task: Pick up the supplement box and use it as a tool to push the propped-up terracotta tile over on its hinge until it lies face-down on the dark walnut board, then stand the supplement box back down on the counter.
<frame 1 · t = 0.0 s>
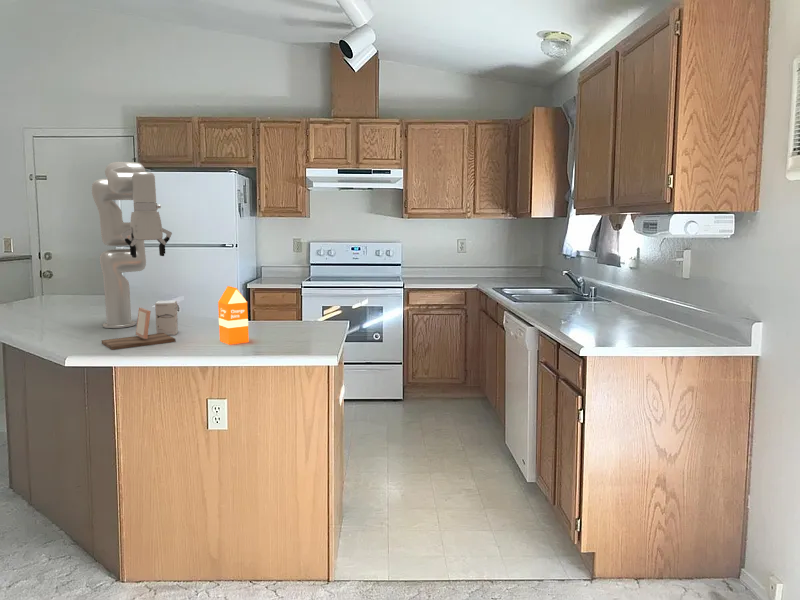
hand: (148, 256, 238), 31 cm above the counter, fingers open, 9 cm apart
supplement box: (167, 334, 261), on the counter
tile: (142, 323, 244), point 7 cm above the counter, hinge at 80.0°
board: (138, 342, 243), on the counter
orange juice: (234, 342, 244), on the counter
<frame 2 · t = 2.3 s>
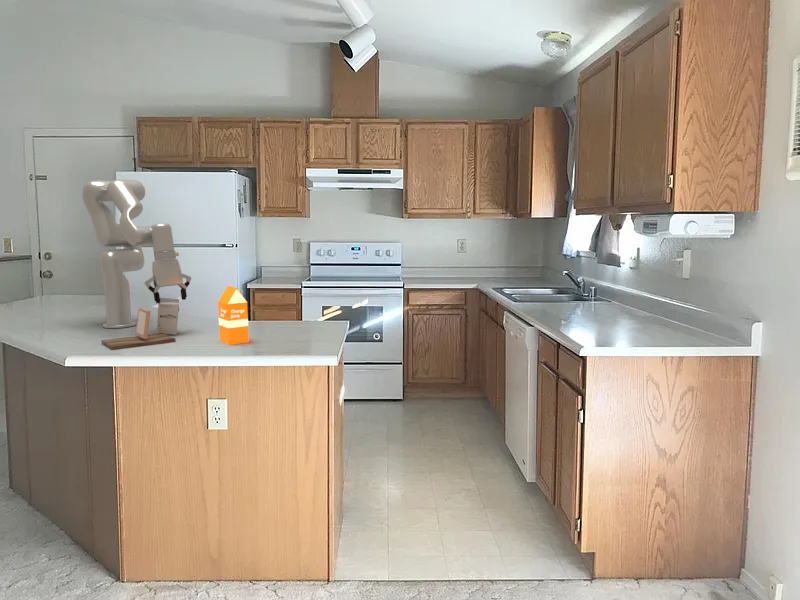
hand: (171, 301, 256), 13 cm above the counter, fingers open, 9 cm apart
supplement box: (166, 331, 260), point 1 cm above the counter, touching gripper
everything else where it was.
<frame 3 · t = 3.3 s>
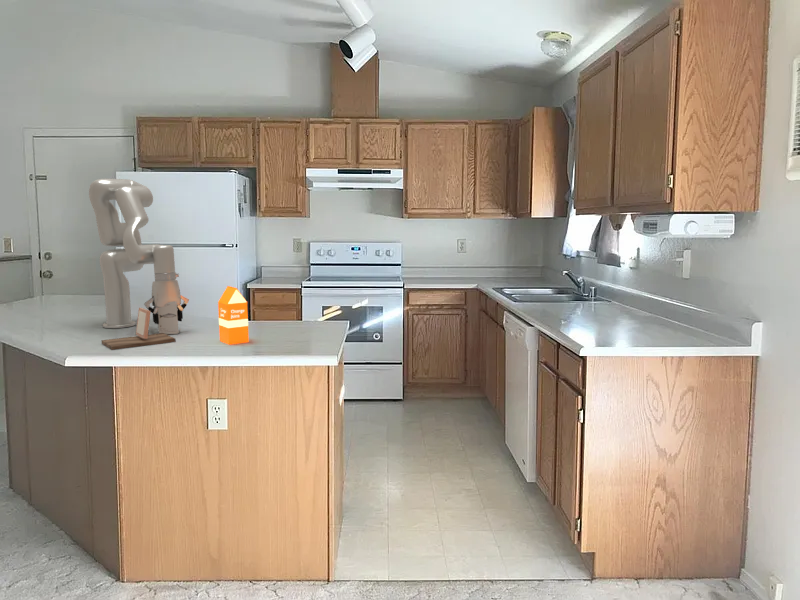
hand: (168, 322, 260), 5 cm above the counter, fingers closed on supplement box, 8 cm apart
supplement box: (168, 333, 261), on the counter, touching gripper
everything else where it was.
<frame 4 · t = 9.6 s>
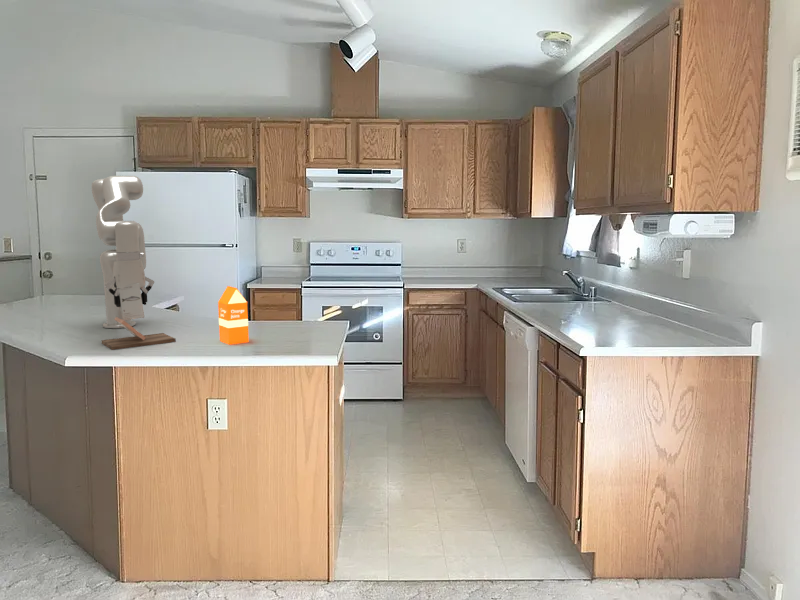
hand: (131, 305, 241), 14 cm above the counter, fingers closed on supplement box, 8 cm apart
supplement box: (133, 318, 243), point 9 cm above the counter, touching gripper, tile
tile: (129, 328, 241), point 6 cm above the counter, hinge at 135.4°, touching supplement box
everything else where it was.
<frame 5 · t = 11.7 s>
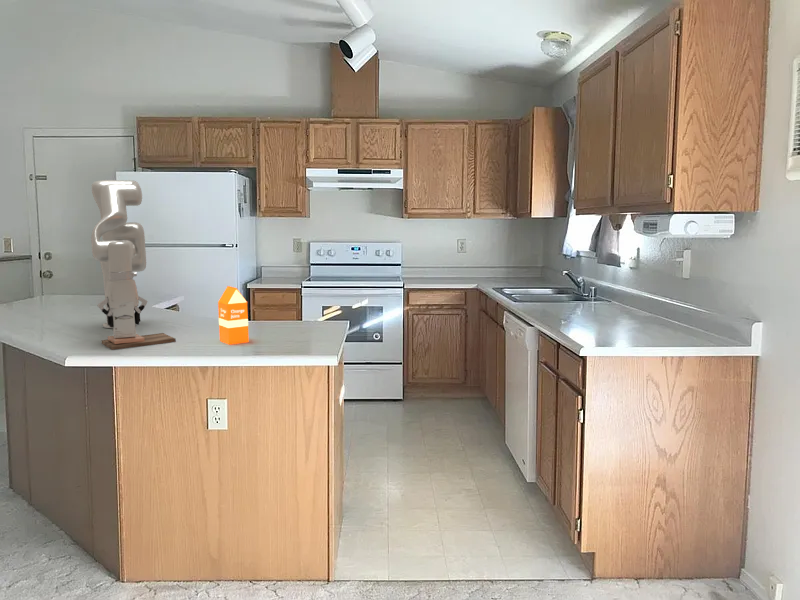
hand: (124, 325, 239), 7 cm above the counter, fingers closed on supplement box, 8 cm apart
supplement box: (124, 336, 241), point 3 cm above the counter, touching gripper, tile
tile: (126, 338, 241), point 2 cm above the counter, hinge at 178.0°, touching board, supplement box
everything else where it was.
when the fingers open (5 cm above the counter, at t = 18.1 s): supplement box drops 1 cm, on the counter.
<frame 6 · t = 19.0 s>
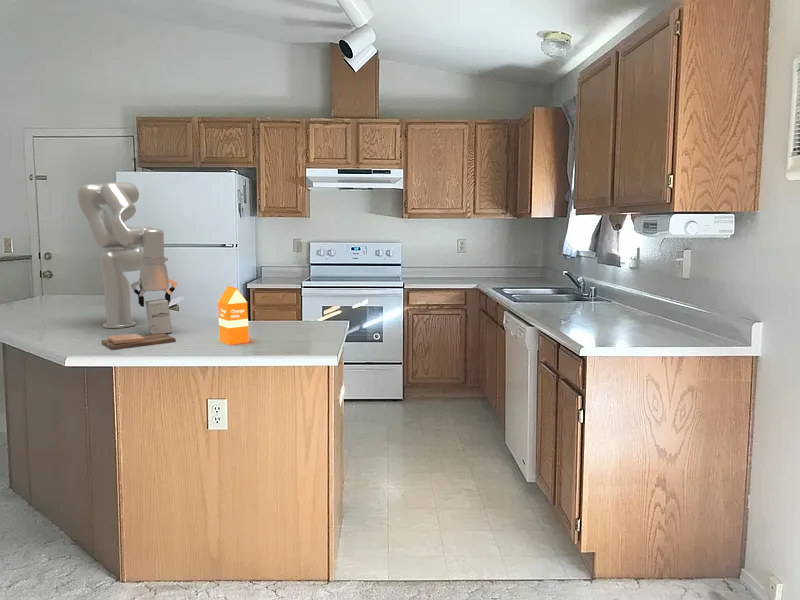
hand: (154, 305, 261), 11 cm above the counter, fingers open, 9 cm apart
supplement box: (160, 333, 262), on the counter, touching gripper
tile: (126, 338, 241), point 2 cm above the counter, hinge at 178.1°, touching board
everything else where it was.
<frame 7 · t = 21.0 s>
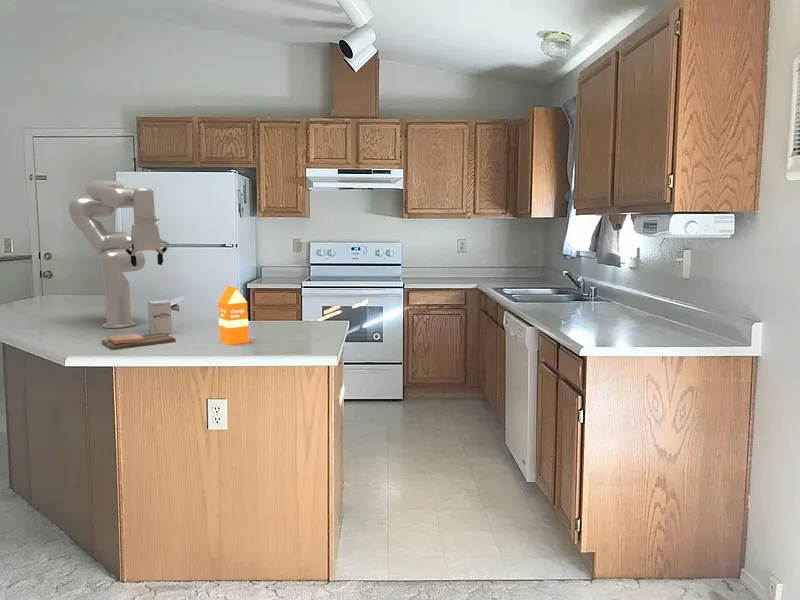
hand: (147, 265, 260), 26 cm above the counter, fingers open, 9 cm apart
supplement box: (160, 333, 262), on the counter
everything else where it was.
at the end: tile at +178° (first picture: +80°); the gripper is holding nothing; supplement box tilted 0° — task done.
